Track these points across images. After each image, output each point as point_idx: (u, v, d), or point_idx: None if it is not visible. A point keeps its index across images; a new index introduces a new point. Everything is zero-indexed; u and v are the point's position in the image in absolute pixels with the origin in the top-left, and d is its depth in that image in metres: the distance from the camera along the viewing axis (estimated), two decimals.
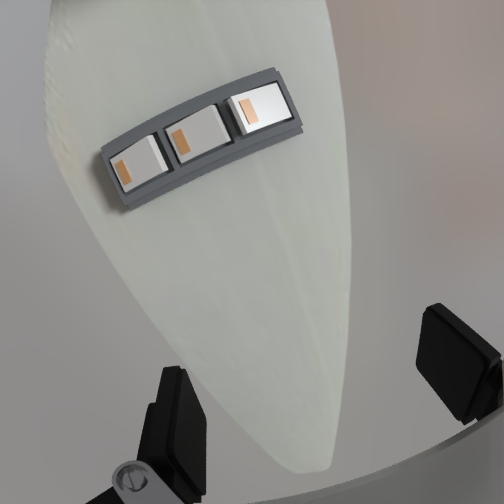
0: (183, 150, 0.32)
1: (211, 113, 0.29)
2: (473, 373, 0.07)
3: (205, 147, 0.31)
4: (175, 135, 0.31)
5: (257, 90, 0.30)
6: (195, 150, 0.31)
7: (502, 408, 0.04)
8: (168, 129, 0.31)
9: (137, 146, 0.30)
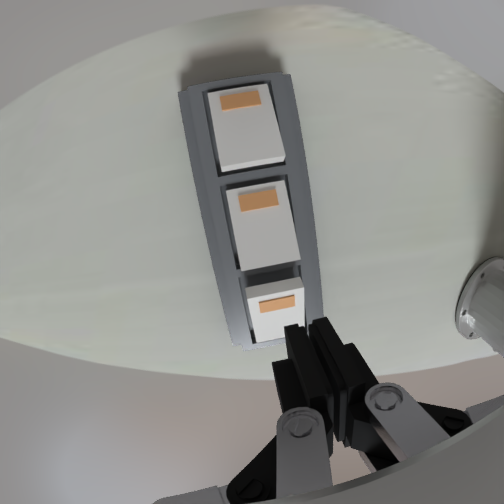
0: (245, 200, 0.22)
1: (287, 257, 0.22)
2: (337, 396, 0.08)
3: (240, 235, 0.22)
4: (270, 193, 0.22)
5: (301, 314, 0.25)
6: (239, 218, 0.22)
7: (502, 408, 0.04)
8: (282, 184, 0.22)
9: (273, 135, 0.20)
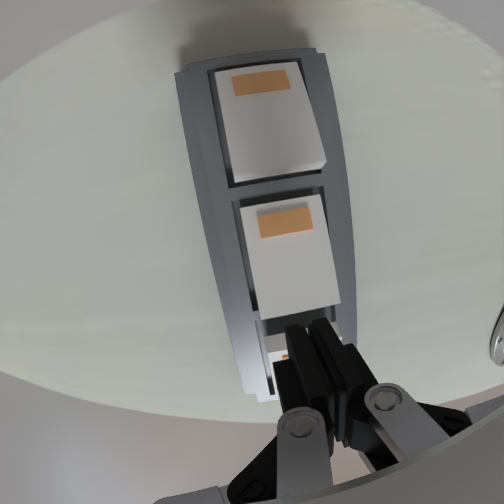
0: (266, 221, 0.16)
1: (323, 301, 0.16)
2: (337, 396, 0.08)
3: (259, 271, 0.16)
4: (302, 212, 0.16)
5: None
6: (259, 247, 0.16)
7: (502, 408, 0.04)
8: (318, 200, 0.16)
9: (308, 131, 0.14)
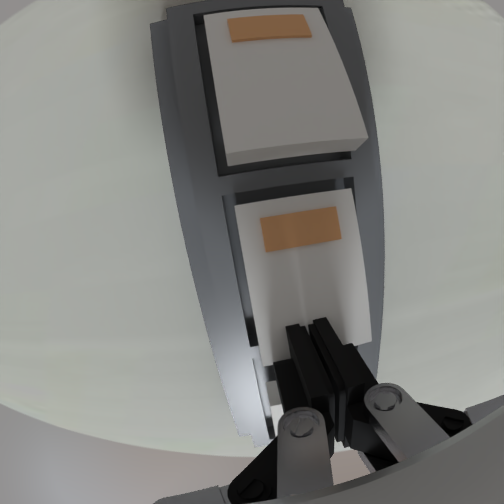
0: (274, 226, 0.11)
1: (350, 339, 0.11)
2: (337, 397, 0.08)
3: (262, 300, 0.11)
4: (326, 214, 0.11)
5: None
6: (262, 265, 0.11)
7: (502, 408, 0.04)
8: (348, 196, 0.11)
9: (341, 93, 0.08)
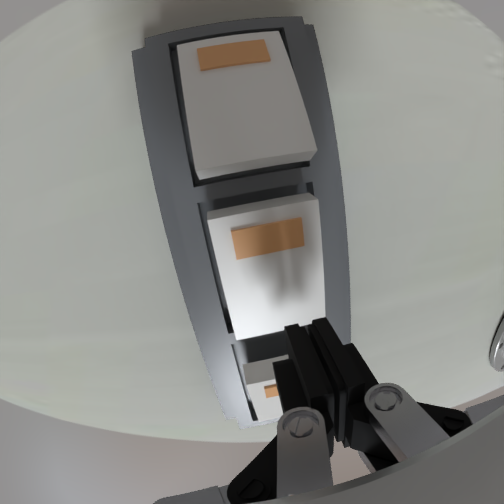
0: (244, 236, 0.12)
1: (307, 319, 0.14)
2: (337, 396, 0.08)
3: (234, 294, 0.13)
4: (291, 225, 0.12)
5: None
6: (233, 269, 0.12)
7: (502, 408, 0.04)
8: (314, 207, 0.12)
9: (294, 112, 0.10)
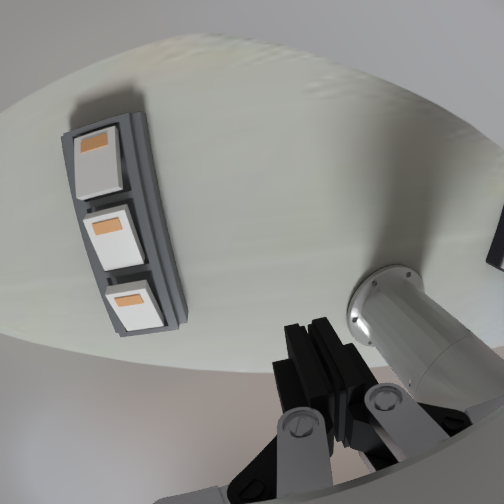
0: (97, 226, 0.25)
1: (134, 262, 0.28)
2: (337, 396, 0.08)
3: (99, 249, 0.27)
4: (114, 221, 0.25)
5: (153, 310, 0.29)
6: (96, 239, 0.26)
7: (502, 408, 0.04)
8: (123, 213, 0.25)
9: (112, 170, 0.24)
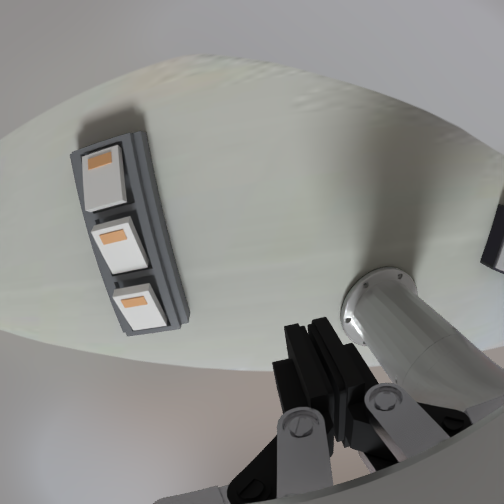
0: (104, 236, 0.28)
1: (138, 266, 0.31)
2: (337, 396, 0.08)
3: (107, 256, 0.30)
4: (120, 232, 0.28)
5: (156, 311, 0.32)
6: (104, 247, 0.29)
7: (502, 408, 0.04)
8: (127, 225, 0.28)
9: (116, 185, 0.27)
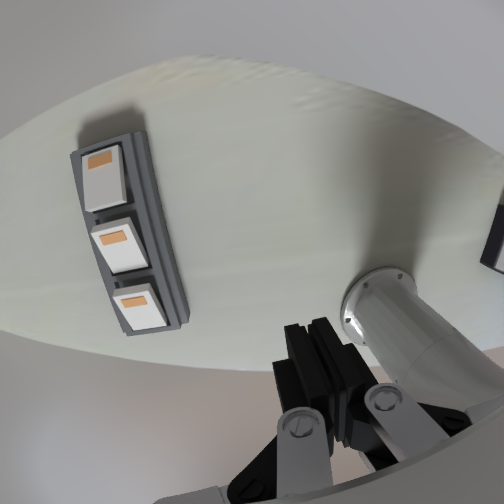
0: (104, 237, 0.28)
1: (139, 265, 0.32)
2: (337, 396, 0.08)
3: (107, 256, 0.30)
4: (120, 233, 0.28)
5: (156, 311, 0.32)
6: (104, 248, 0.29)
7: (502, 408, 0.04)
8: (127, 226, 0.28)
9: (116, 185, 0.27)
